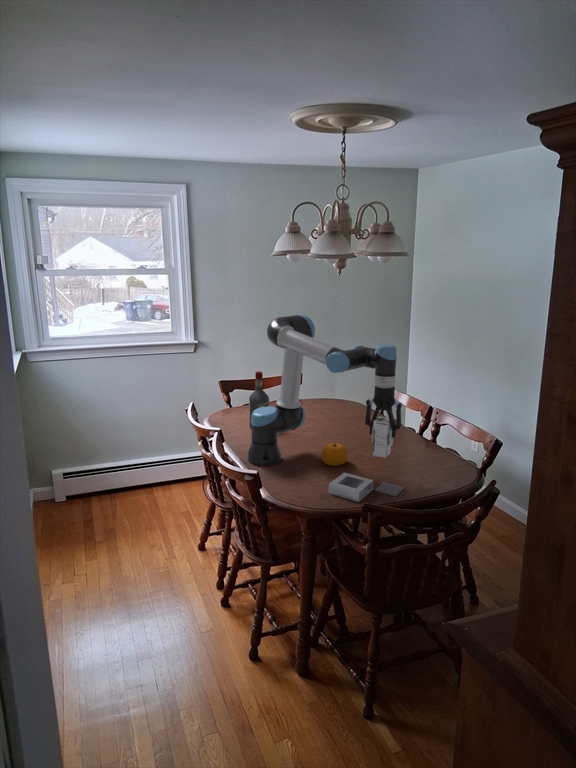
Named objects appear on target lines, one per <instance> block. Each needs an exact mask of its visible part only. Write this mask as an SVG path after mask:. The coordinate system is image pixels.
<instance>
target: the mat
mask: <svg viewBox="0 0 576 768" xmlns="http://www.w3.org/2000/svg"><path fill="white" fill-rule="evenodd" d="M373 490H374V492H377V493H381V494H384V495H388V496H391V497H395V498H396V497H397V496H398V495H399V494H400V493H402V491H404V490H405V486H401V485H396V484H394V483H393V484H392V483H389V482H385V481H383V482H382V483H381V484H379V486H377V487H376V488H375V489H373Z"/></svg>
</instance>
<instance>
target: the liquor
mask: <svg viewBox="0 0 576 768" xmlns="http://www.w3.org/2000/svg"><path fill="white" fill-rule="evenodd" d="M254 374H255V378H254V379H255V389H254V390H253V392H252V393H251V394H250V395H249V398H248V402H249V403H248V409H249V410H248V413H249V417H248V418H249V422H248V423H249V425H248V426H249V427H250V428H249V429H251V416H252V412H253V411H254V410H256V409H257V408H260V407H266V406H270V397H269V395H268V394H267V393H266V392H265V391H264V389H263V376H264V375H263V371H260V370H259V371H258V370H257V371H255V373H254Z"/></svg>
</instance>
